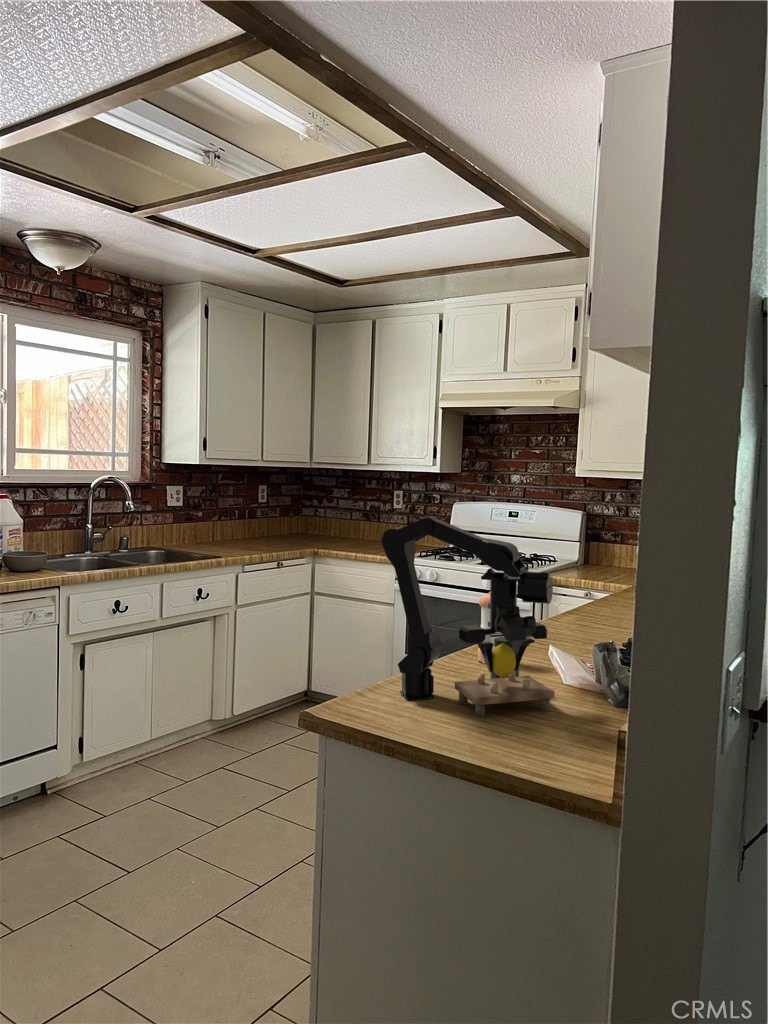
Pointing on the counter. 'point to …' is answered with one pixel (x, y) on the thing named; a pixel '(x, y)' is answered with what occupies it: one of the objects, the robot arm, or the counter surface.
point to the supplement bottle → (498, 642)
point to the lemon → (503, 660)
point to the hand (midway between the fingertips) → (503, 671)
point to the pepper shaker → (485, 620)
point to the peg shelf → (503, 692)
